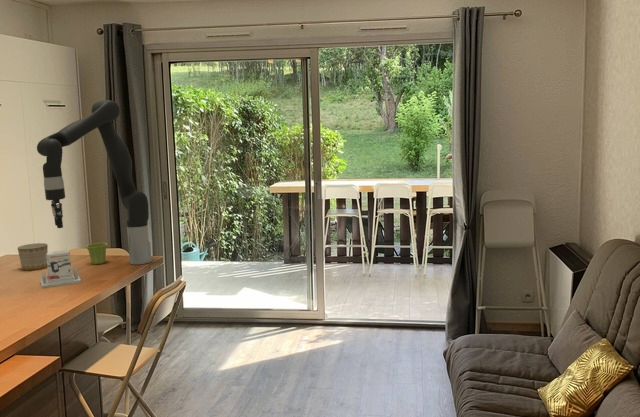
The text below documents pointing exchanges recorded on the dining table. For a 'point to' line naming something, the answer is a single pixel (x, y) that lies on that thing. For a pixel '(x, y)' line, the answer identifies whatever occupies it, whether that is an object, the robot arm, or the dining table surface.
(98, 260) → the plant pot
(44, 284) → the white pegged base plate
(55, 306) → the dining table surface
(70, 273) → the ink box
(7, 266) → the dining table surface
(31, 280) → the dining table surface
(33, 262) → the planter
